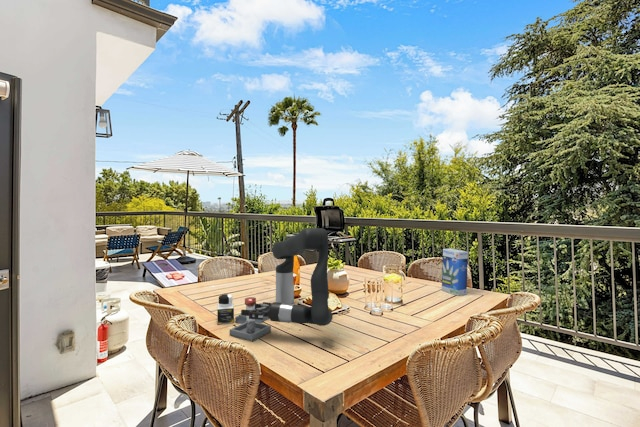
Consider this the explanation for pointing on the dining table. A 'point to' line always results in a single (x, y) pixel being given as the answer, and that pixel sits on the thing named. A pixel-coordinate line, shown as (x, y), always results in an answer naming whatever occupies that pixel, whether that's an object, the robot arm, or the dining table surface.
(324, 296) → the robot arm
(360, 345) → the dining table surface
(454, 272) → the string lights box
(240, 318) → the tensioner block
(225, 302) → the medicine bottle
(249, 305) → the pin
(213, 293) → the dining table surface
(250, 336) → the tray
